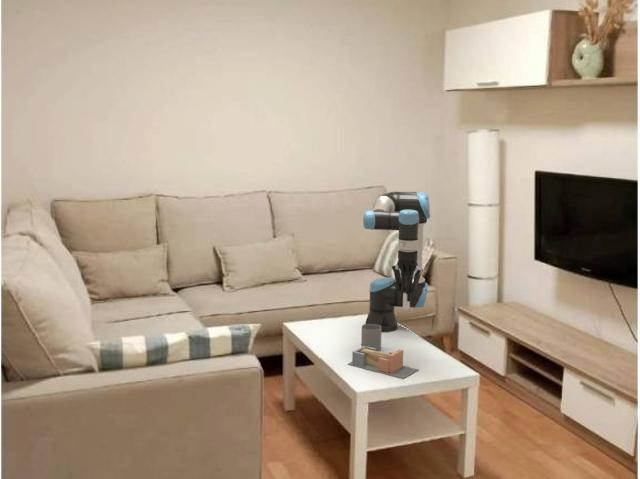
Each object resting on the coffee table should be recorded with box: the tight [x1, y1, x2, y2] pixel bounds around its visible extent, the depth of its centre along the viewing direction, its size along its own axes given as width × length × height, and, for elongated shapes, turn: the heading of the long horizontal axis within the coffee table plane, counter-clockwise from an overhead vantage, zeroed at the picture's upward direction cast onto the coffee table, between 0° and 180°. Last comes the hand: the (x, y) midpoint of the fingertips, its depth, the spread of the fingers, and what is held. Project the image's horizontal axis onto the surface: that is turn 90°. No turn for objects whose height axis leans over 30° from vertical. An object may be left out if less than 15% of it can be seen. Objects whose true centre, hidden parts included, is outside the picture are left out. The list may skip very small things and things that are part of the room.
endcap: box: [378, 349, 404, 373], centre depth 293 cm, size 9×6×7 cm, turn 143°
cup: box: [360, 323, 382, 352], centre depth 317 cm, size 8×8×10 cm
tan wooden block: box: [359, 349, 390, 368], centre depth 297 cm, size 4×15×5 cm, turn 54°
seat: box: [347, 346, 420, 380], centre depth 295 cm, size 12×26×5 cm, turn 53°
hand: (406, 308), depth 291 cm, fingers closed
